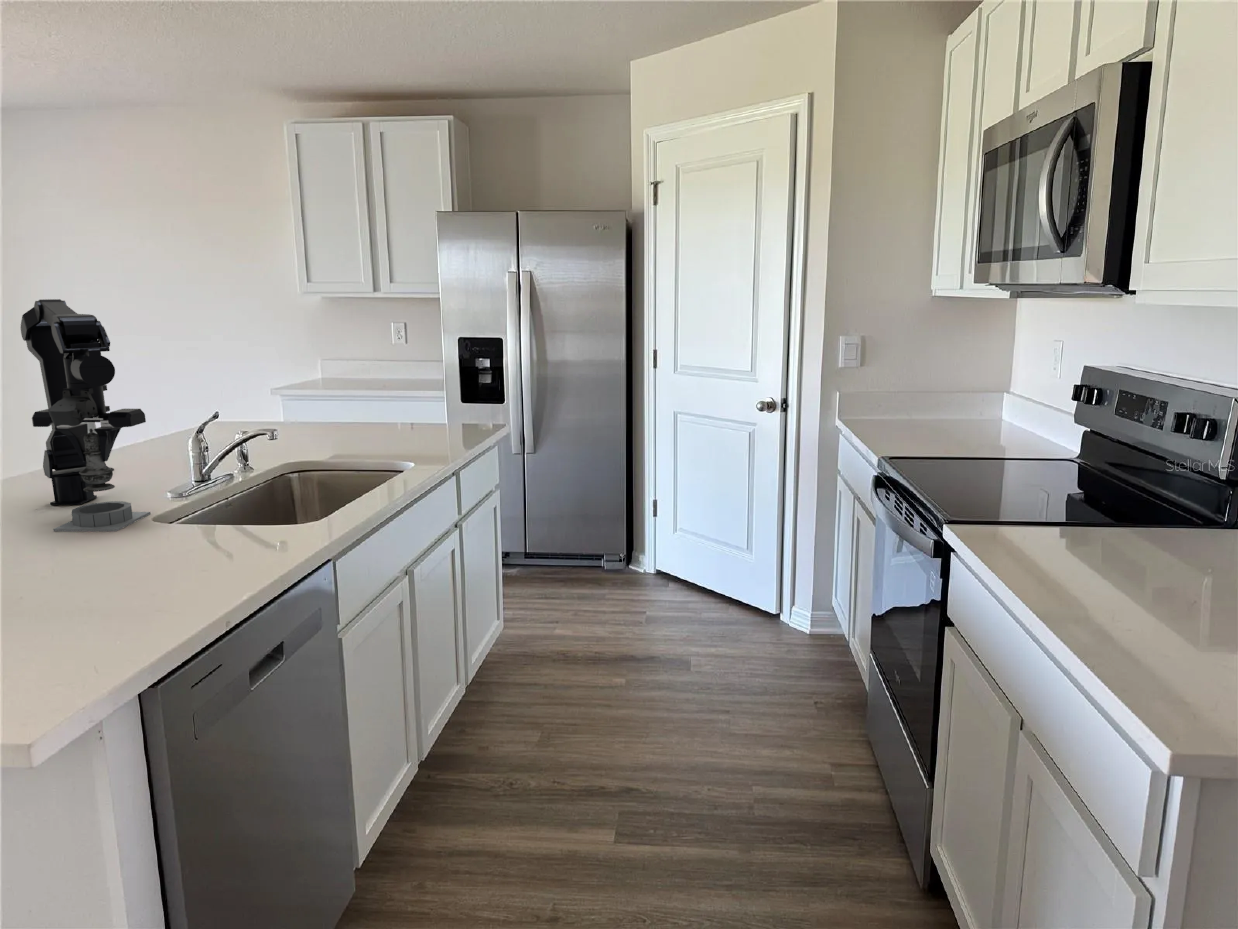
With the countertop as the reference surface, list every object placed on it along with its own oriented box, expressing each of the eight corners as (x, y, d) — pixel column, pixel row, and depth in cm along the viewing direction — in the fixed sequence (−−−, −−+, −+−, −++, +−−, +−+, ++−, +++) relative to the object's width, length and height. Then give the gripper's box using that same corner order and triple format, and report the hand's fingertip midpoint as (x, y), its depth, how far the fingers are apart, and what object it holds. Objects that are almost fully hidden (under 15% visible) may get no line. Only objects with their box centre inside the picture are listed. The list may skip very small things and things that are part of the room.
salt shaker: (123, 485, 166) (115, 426, 163) (102, 492, 160) (94, 431, 157) (96, 484, 166) (87, 425, 163) (74, 491, 160) (65, 430, 158)
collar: (53, 531, 158) (51, 516, 158) (92, 514, 170) (90, 500, 169) (116, 531, 158) (114, 516, 158) (150, 514, 170) (148, 500, 170)
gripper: (5, 386, 150) (18, 470, 154) (108, 387, 151) (119, 470, 154) (46, 379, 161) (57, 457, 165) (142, 379, 161) (151, 458, 165)
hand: (95, 461), depth 162 cm, fingers closed on salt shaker, 3 cm apart
